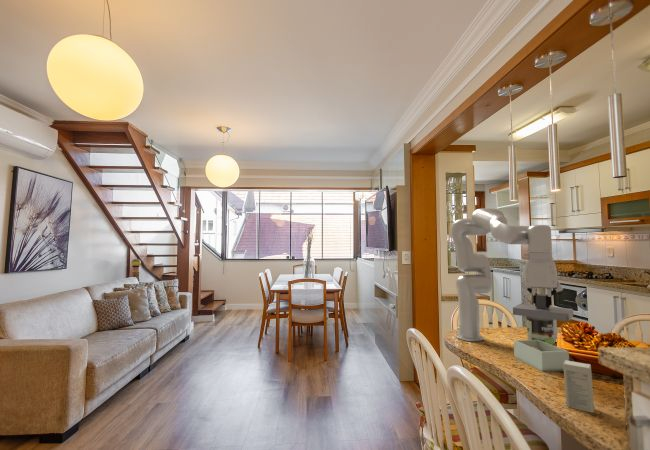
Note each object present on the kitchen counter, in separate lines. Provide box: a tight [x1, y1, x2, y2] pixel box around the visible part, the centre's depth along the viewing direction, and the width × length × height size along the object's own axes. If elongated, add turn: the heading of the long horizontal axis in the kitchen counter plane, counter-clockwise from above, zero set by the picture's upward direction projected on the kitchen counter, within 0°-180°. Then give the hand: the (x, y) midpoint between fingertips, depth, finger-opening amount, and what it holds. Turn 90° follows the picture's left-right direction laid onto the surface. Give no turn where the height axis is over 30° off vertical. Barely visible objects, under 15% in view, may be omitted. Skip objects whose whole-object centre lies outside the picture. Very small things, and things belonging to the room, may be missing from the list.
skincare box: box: [563, 360, 595, 413], centre depth 94 cm, size 6×4×12 cm
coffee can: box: [525, 316, 555, 346], centre depth 146 cm, size 10×10×14 cm
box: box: [513, 339, 570, 373], centre depth 128 cm, size 15×11×7 cm
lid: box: [512, 293, 574, 322], centre depth 122 cm, size 17×13×8 cm
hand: (542, 306), depth 122 cm, fingers closed on lid, 3 cm apart
